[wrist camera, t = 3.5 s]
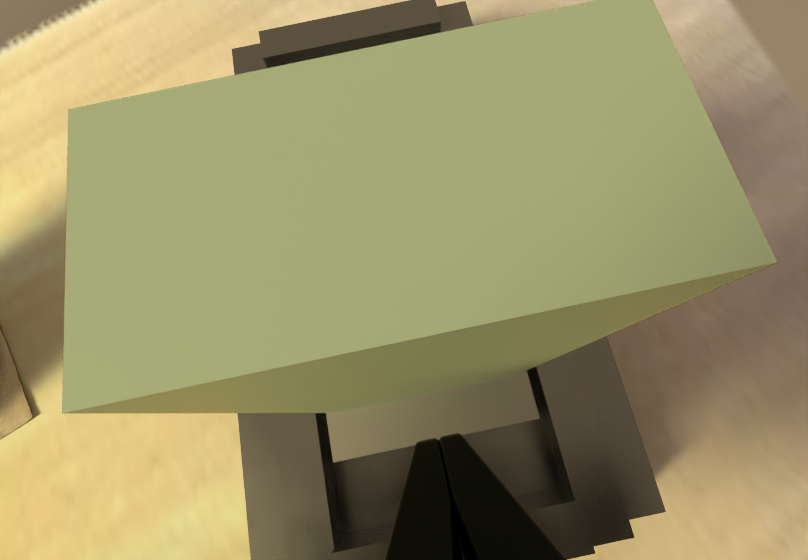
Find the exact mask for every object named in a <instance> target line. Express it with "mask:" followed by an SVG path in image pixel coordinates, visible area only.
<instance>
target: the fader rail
mask: <svg viewBox="0 0 808 560" xmlns="http://www.w3.org/2000/svg"><path fill="white" fill-rule="evenodd" d="M470 26H473V24H472V21H471V18H470V15H469V11H468V8H467V5H466V2H465V1H463V2H458V3H454V4H449V5H444V6H439V7H437V5H436V2H435V0H410V1H405V2H400V3H395V4H390V5H385V6H380V7H376V8H371V9H366V10H361V11H356V12H351V13H346V14H342V15H337V16H332V17H327V18H322V19H317V20H312V21H308V22H303V23H298V24H293V25H288V26H283V27H278V28H274V29H269V30H264V31H259V36H260V43H259V44H254V45H250V46H245V47H240V48H235V49H232V55H233V64H234V73H235V75H237V74H242V73H247V72H252V71H257V70H262V69H267V68H271V67H276V66H281V65H286V64H291V63H296V62H300V61H305V60H310V59H315V58H320V57H325V56H330V55H334V54H339V53H344V52H349V51H354V50H359V49H363V48H368V47H373V46H378V45H383V44H388V43H393V42H397V41H402V40H407V39H412V38H417V37H422V36H426V35H431V34H436V33H441V32H446V31H451V30H456V29H460V28H465V27H470ZM527 374H528V377H529V381H530V385H531V388H532V392H533V395H534V399H535V402H536V406H537V410H538V413H539V417H540V419H535V420H531V421H526V422H521V423H517V424H512V425H507V426H502V427H498V428H493V429H488V430H484V431H479V432H474V433H470V434H465V435H462V436H463V437H464V438H465V439H466V440H467V442H468V443H469V444H470V445H471V446H472V448H473V449H474V450H475V451H476V452H477V453H478V455H479V456H480V457H481V458H482V459H483V461H484V462H485V463H486V464H487V465H488V467H489V468H490V469H491V470H492V471H493V472H494V474H495V475H496V476H497V477H498V478H499V480H500V481H501V482H502V483H503V484H504V486H505V487H506V488H507V489H508V490H509V491H510V493H511V494H512V495H513V496H514V497H515V499H516V500H517V501H518V502H519V503H520V505H521V506H522V507H523V508H524V509H525V511H526V512H527V513H528V514H529V515H530V516H531V518H532V519H533V520H534V521H535V522H536V524H537V525H538V526H539V527H540V528H541V530H542V531H543V532H544V533H545V534H546V535H547V537H548V538H549V539H550V540H551V541H552V543H553V544H554V545H555V546H556V547H557V549H558V550H559V551H560V552H561V553H562V554H563V556H564V557H565V558H566V559H571V558H576V557H580V556H585V555H590V554H594V553H595V551H594V547H593V546H597V545H602V544H606V543H611V542H616V541H620V540H625V539H629V538H634V535H633V532H632V528H631V525H630V522H629V520H630V519H634V518H639V517H644V516H648V515H653V514H658V513H662V512H666V511H665V508H664V505H663V502H662V499H661V496H660V493H659V490H658V487H657V484H656V481H655V478H654V475H653V473H652V470H651V467H650V464H649V461H648V458H647V455H646V452H645V449H644V446H643V443H642V440H641V437H640V434H639V431H638V428H637V425H636V422H635V419H634V416H633V413H632V411H631V408H630V405H629V402H628V399H627V396H626V393H625V390H624V387H623V384H622V381H621V378H620V375H619V372H618V369H617V366H616V363H615V360H614V357H613V354H612V351H611V349H610V346H609V343H608V340H607V337H606V336H605V337H603V338H601V339H598V340H596V341H594V342H591V343H589V344H587V345H584V346H582V347H580V348H577V349H575V350H573V351H570V352H568V353H566V354H564V355H561V356H559V357H557V358H554V359H552V360H550V361H547V362H545V363H543V364H540V365H538V366H536V367H533V368H531V369H529V370H527ZM238 421H239V432H240V443H241V454H242V465H243V477H244V488H245V499H246V510H247V521H248V532H249V543H250V554H251V560H384V558H385V554H386V550H387V547H388V543H389V539H390V535H391V532H392V528H393V524H394V521H395V517H396V513H397V510H398V506H399V502H400V498H401V495H402V491H403V487H404V484H405V480H406V476H407V473H408V469H409V465H410V462H411V458H412V454H413V450H414V447H415V445H413V446H409V447H404V448H399V449H395V450H390V451H385V452H380V453H376V454H371V455H366V456H362V457H357V458H352V459H348V460H343V461H338V462H334V463H333V458H332V452H331V445H330V438H329V431H328V424H327V417H326V413H238ZM438 441H439V440H438ZM458 535H459V534H458ZM459 540H460V539H459ZM460 545H461V543H460ZM461 550H462V548H461ZM462 555H463V552H462ZM463 560H464V556H463Z"/></svg>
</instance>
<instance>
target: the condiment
mask: <svg viewBox="0 0 808 560" xmlns="http://www.w3.org/2000/svg"><path fill="white" fill-rule="evenodd" d="M31 418H32V414H31V411H30V407H29V406H28V403H27V400H26V398H25V395H24V393H23V387H22V385H21V383H20V381H19V378H18V373H17V370H16V368H15V365H14V362H13V359H12V357H11V355H10V352H9V348H8V346H7V343H6V341H5V338H4V336H3V334H2V332H1V329H0V438H2V437H4V436H6V435H8V434H9V433H11V432H12V431H14V430H16V429H17V428H18V427H20V426H22V425H23V424H25V423H26V422H27V421H28V420H29V419H31Z"/></svg>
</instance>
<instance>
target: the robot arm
mask: <svg viewBox="0 0 808 560" xmlns="http://www.w3.org/2000/svg"><path fill="white" fill-rule="evenodd" d="M458 534H459V535H458ZM459 539H460V540H459ZM460 543H461V545H460ZM461 548H462V550H461ZM462 552H463V555H462ZM463 556H464V560H567V559H566V558H565V557H564V556H563V554H562V553H561V552H560V551H559V550H558V549H557V547H556V546H555V545H554V544H553V543H552V541H551V540H550V539H549V538H548V537H547V535H546V534H545V533H544V532H543V531H542V530H541V528H540V527H539V526H538V525H537V524H536V522H535V521H534V520H533V519H532V518H531V516H530V515H529V514H528V513H527V512H526V511H525V509H524V508H523V507H522V506H521V505H520V503H519V502H518V501H517V500H516V499H515V497H514V496H513V495H512V494H511V493H510V491H509V490H508V489H507V488H506V487H505V486H504V484H503V483H502V482H501V481H500V480H499V478H498V477H497V476H496V475H495V474H494V472H493V471H492V470H491V469H490V468H489V467H488V465H487V464H486V463H485V462H484V461H483V459H482V458H481V457H480V456H479V455H478V453H477V452H476V451H475V450H474V449H473V448H472V446H471V445H470V444H469V443H468V442H467V440H466V439H465V438H464V437H463V436H462V435H461V434H459V433H455V434H450V435H446V436H442V437H440V438H439V441H438V440H437V439H436V438H431V439H427V440H422V441H418V442H417V443H416V444H415V447H414V450H413V454H412V458H411V462H410V465H409V469H408V473H407V476H406V480H405V484H404V487H403V491H402V495H401V498H400V502H399V506H398V510H397V513H396V517H395V521H394V524H393V528H392V532H391V535H390V539H389V543H388V547H387V550H386V554H385V558H384V560H463Z"/></svg>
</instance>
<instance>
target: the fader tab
mask: <svg viewBox="0 0 808 560" xmlns="http://www.w3.org/2000/svg"><path fill="white" fill-rule="evenodd" d="M774 263H777V260H776V258H775V256H774V254H773V252H772V250H771V247H770V245H769V243H768V241H767V239H766V237H765V235H764V233H763V231H762V228H761V226H760V224H759V222H758V220H757V218H756V216H755V214H754V212H753V210H752V207H751V205H750V203H749V201H748V199H747V197H746V195H745V193H744V191H743V189H742V186H741V184H740V182H739V180H738V178H737V176H736V174H735V172H734V170H733V167H732V165H731V163H730V161H729V159H728V157H727V155H726V153H725V151H724V149H723V146H722V144H721V142H720V140H719V138H718V136H717V134H716V132H715V130H714V128H713V125H712V123H711V121H710V119H709V117H708V115H707V113H706V111H705V109H704V107H703V104H702V102H701V100H700V98H699V96H698V94H697V92H696V90H695V88H694V85H693V83H692V81H691V79H690V77H689V75H688V73H687V71H686V69H685V67H684V64H683V62H682V60H681V58H680V56H679V54H678V52H677V50H676V48H675V46H674V43H673V41H672V39H671V37H670V35H669V33H668V31H667V29H666V27H665V24H664V22H663V20H662V18H661V16H660V14H659V12H658V10H657V8H656V6H655V3H654V1H653V0H596V1H591V2H586V3H582V4H577V5H572V6H567V7H562V8H557V9H552V10H548V11H543V12H538V13H533V14H528V15H523V16H519V17H514V18H509V19H504V20H499V21H494V22H489V23H485V24H480V25H475V26H470V27H465V28H460V29H456V30H451V31H446V32H441V33H436V34H431V35H426V36H422V37H417V38H412V39H407V40H402V41H397V42H393V43H388V44H383V45H378V46H373V47H368V48H363V49H359V50H354V51H349V52H344V53H339V54H334V55H330V56H325V57H320V58H315V59H310V60H305V61H300V62H296V63H291V64H286V65H281V66H276V67H271V68H267V69H262V70H257V71H252V72H247V73H242V74H237V75H233V76H228V77H223V78H218V79H213V80H208V81H204V82H199V83H194V84H189V85H184V86H179V87H174V88H170V89H165V90H160V91H155V92H150V93H145V94H141V95H136V96H131V97H126V98H121V99H116V100H111V101H107V102H102V103H97V104H92V105H87V106H82V107H78V108H73V109H68V156H67V204H66V252H65V300H64V349H63V397H62V413H326V417H327V424H328V431H329V438H330V445H331V452H332V458H333V463H334V462H338V461H343V460H348V459H352V458H357V457H362V456H366V455H371V454H376V453H380V452H385V451H390V450H395V449H399V448H404V447H409V446H413V445H415V444H416V443H417V442H418V441H422V440H427V439H431V438H436V439H437V440H439V438H440V437H442V436H446V435H450V434H455V433H459V434H461V435H465V434H470V433H474V432H479V431H484V430H488V429H493V428H498V427H502V426H507V425H512V424H517V423H521V422H526V421H531V420H535V419H540V417H539V413H538V410H537V406H536V402H535V399H534V395H533V392H532V388H531V385H530V381H529V377H528V374H527V370H529V369H531V368H533V367H536V366H538V365H540V364H543V363H545V362H547V361H550V360H552V359H554V358H557V357H559V356H561V355H564V354H566V353H568V352H570V351H573V350H575V349H577V348H580V347H582V346H584V345H587V344H589V343H591V342H594V341H596V340H598V339H601V338H603V337H605V336H608V335H610V334H612V333H615V332H617V331H619V330H621V329H624V328H626V327H628V326H631V325H633V324H635V323H638V322H640V321H642V320H645V319H647V318H649V317H652V316H654V315H656V314H659V313H661V312H663V311H666V310H668V309H670V308H672V307H675V306H677V305H679V304H682V303H684V302H686V301H689V300H691V299H693V298H696V297H698V296H700V295H703V294H705V293H707V292H710V291H712V290H714V289H717V288H719V287H721V286H723V285H726V284H728V283H730V282H733V281H735V280H737V279H740V278H742V277H744V276H747V275H749V274H751V273H754V272H756V271H758V270H761V269H763V268H765V267H768V266H770V265H772V264H774Z"/></svg>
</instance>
